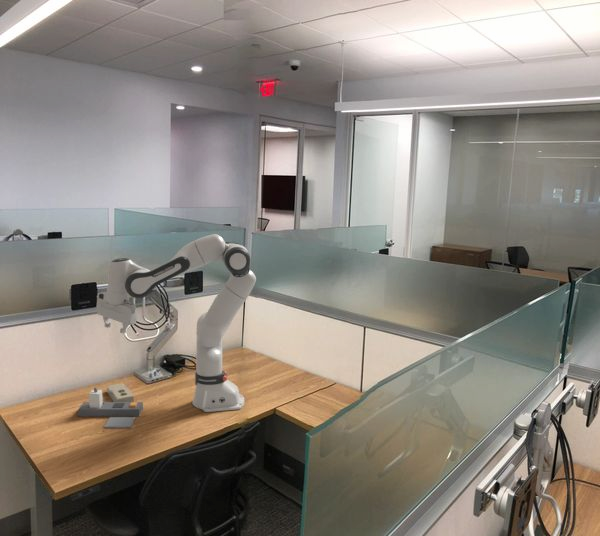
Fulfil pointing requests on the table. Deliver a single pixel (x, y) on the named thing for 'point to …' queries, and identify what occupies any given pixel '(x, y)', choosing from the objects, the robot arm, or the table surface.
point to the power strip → (112, 409)
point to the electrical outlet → (120, 393)
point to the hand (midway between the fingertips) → (115, 330)
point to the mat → (119, 422)
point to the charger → (95, 398)
